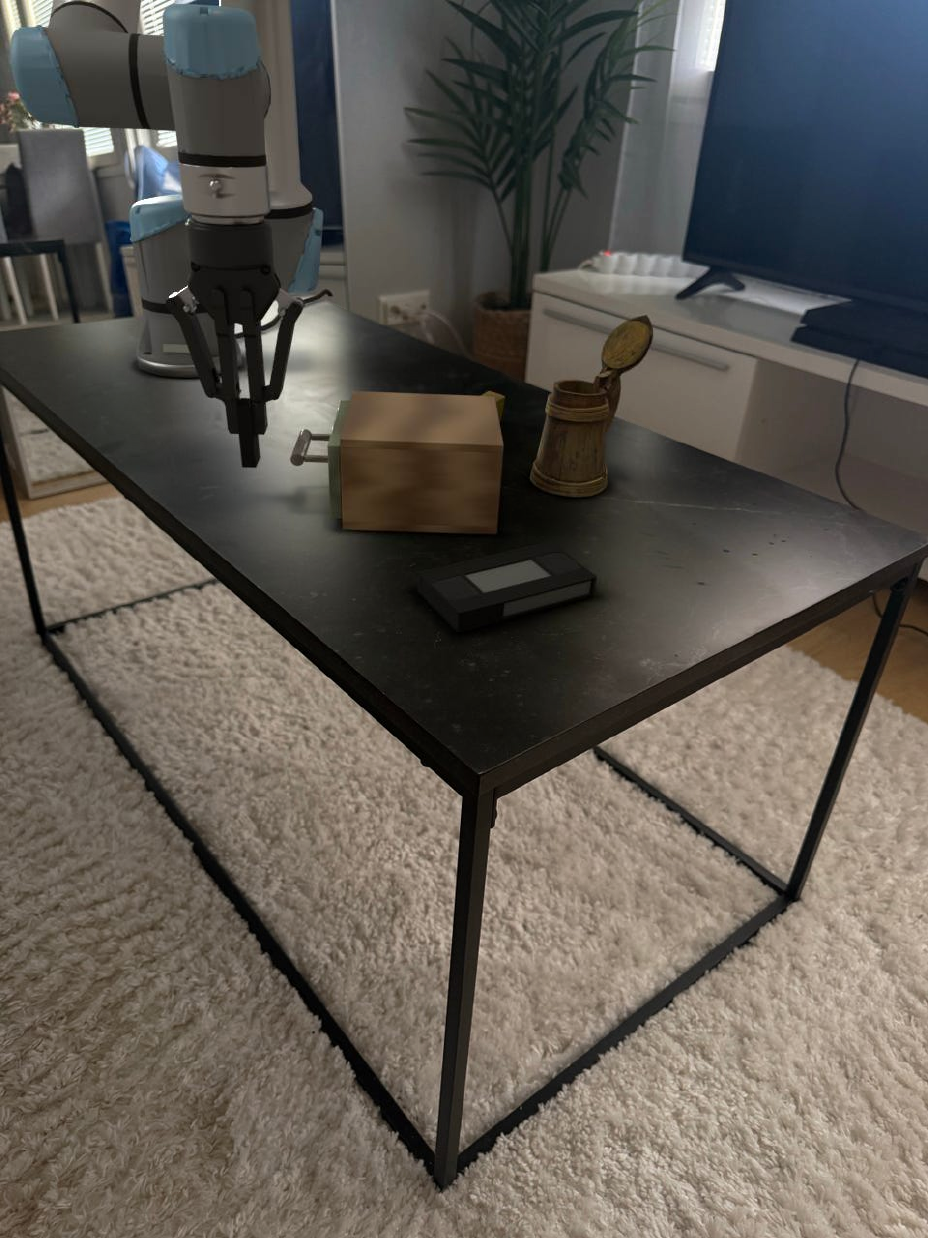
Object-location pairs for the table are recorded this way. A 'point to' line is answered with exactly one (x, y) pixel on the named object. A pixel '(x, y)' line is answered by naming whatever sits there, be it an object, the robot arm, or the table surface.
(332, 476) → the drawer
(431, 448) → the cabinet
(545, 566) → the vhs tape
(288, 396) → the table surface
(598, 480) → the wooden mug
